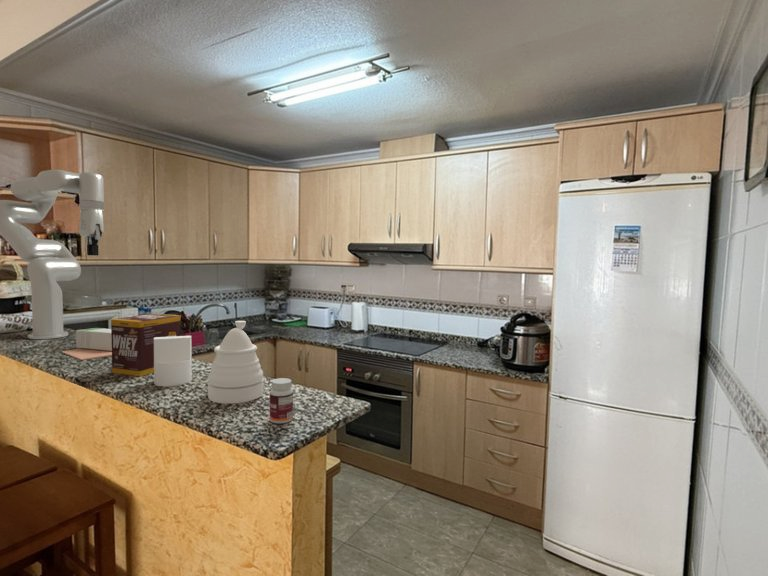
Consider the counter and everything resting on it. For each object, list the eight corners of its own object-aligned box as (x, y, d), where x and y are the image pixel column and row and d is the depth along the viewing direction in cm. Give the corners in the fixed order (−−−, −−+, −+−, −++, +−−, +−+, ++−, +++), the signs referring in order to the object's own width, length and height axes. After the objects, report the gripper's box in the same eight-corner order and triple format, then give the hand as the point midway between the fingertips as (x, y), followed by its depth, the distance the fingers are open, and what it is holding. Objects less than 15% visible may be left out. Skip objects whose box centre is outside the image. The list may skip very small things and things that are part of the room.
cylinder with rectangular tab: (191, 375, 118) (191, 333, 117) (191, 384, 109) (191, 339, 109) (155, 378, 114) (154, 335, 113) (152, 387, 106) (152, 341, 105)
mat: (61, 352, 140) (61, 351, 140) (104, 346, 151) (104, 345, 151) (81, 360, 130) (81, 359, 130) (126, 353, 141) (126, 352, 141)
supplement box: (110, 373, 118) (109, 318, 117) (155, 361, 132) (154, 312, 131) (139, 377, 115) (138, 321, 114) (181, 364, 129) (181, 314, 128)
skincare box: (96, 327, 152) (132, 329, 149) (95, 345, 152) (132, 347, 149) (74, 330, 143) (113, 332, 140) (74, 349, 144) (113, 351, 141)
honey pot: (226, 384, 110) (226, 317, 109) (271, 388, 108) (272, 320, 106) (196, 400, 97) (196, 325, 96) (247, 405, 95) (247, 328, 94)
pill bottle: (266, 417, 88) (267, 379, 87) (288, 414, 90) (288, 376, 90) (273, 425, 84) (273, 385, 83) (295, 421, 86) (296, 382, 86)
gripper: (72, 206, 157) (73, 254, 158) (88, 204, 148) (89, 255, 149) (95, 208, 163) (95, 255, 164) (111, 206, 154) (112, 256, 156)
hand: (92, 255), depth 157 cm, fingers closed
